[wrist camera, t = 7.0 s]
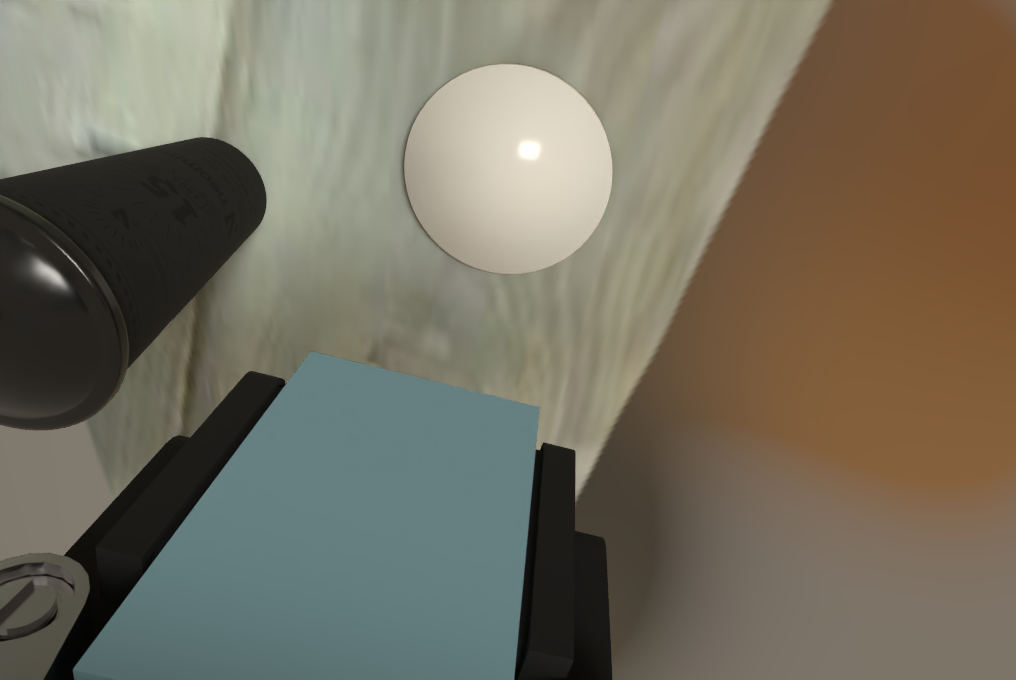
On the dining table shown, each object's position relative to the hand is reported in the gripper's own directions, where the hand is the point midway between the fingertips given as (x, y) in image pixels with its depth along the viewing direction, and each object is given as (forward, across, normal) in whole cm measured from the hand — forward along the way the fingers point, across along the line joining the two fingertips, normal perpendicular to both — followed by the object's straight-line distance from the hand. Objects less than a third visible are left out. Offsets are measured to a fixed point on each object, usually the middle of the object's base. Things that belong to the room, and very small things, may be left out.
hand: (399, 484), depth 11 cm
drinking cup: (+21, +13, +4) cm, 25 cm away
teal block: (+1, 0, 0) cm, 1 cm away
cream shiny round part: (+20, 0, 0) cm, 20 cm away
